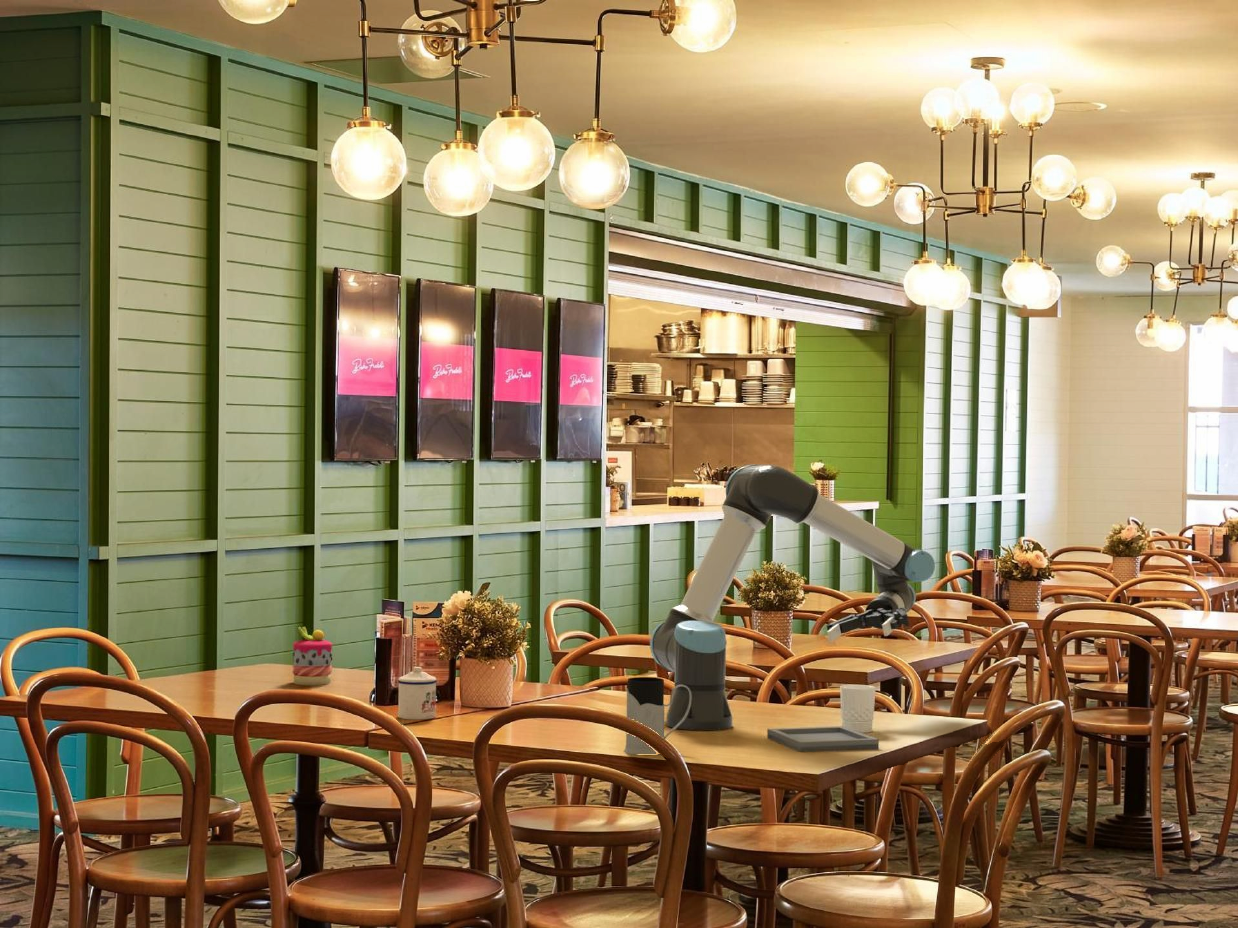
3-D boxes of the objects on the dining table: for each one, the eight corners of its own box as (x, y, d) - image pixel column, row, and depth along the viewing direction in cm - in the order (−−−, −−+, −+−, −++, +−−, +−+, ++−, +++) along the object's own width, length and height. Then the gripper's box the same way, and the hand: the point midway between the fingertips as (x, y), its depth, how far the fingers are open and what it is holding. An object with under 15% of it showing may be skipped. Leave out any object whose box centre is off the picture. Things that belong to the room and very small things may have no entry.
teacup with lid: (428, 720, 366) (429, 670, 366) (391, 718, 368) (392, 668, 368) (446, 713, 377) (447, 664, 377) (410, 711, 379) (411, 662, 379)
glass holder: (619, 748, 332) (620, 676, 332) (685, 746, 336) (686, 675, 336) (629, 755, 324) (630, 682, 324) (696, 754, 327) (697, 681, 327)
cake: (332, 680, 434) (333, 625, 434) (330, 685, 424) (331, 629, 424) (293, 680, 433) (294, 625, 433) (290, 685, 423) (291, 629, 423)
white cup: (873, 734, 356) (874, 689, 356) (838, 732, 357) (839, 688, 357) (875, 728, 364) (876, 685, 364) (840, 727, 365) (841, 683, 365)
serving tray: (800, 751, 331) (800, 742, 331) (767, 737, 349) (767, 728, 349) (878, 748, 337) (878, 739, 337) (842, 734, 354) (842, 725, 354)
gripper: (937, 619, 380) (911, 643, 362) (840, 631, 392) (810, 655, 374) (930, 589, 380) (904, 611, 361) (833, 602, 392) (803, 624, 373)
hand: (856, 633), depth 367 cm, fingers open, 13 cm apart
